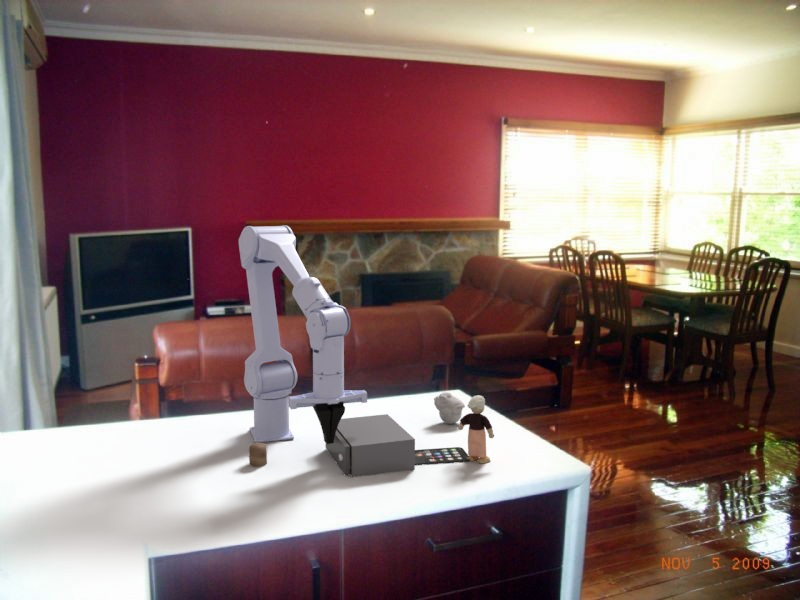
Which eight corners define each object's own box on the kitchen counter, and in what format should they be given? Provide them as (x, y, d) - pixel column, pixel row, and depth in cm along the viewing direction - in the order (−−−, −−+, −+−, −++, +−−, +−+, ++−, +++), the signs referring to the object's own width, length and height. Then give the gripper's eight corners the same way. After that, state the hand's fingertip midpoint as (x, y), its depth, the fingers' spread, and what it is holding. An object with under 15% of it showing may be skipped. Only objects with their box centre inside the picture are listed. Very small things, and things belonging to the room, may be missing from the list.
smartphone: (388, 451, 136) (461, 446, 139) (388, 454, 136) (461, 449, 139) (394, 465, 129) (472, 460, 132) (394, 468, 129) (472, 463, 132)
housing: (330, 447, 139) (330, 419, 138) (387, 441, 143) (387, 414, 142) (352, 477, 124) (352, 446, 123) (414, 469, 128) (414, 439, 127)
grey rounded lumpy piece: (435, 418, 159) (436, 388, 158) (465, 420, 157) (466, 390, 156) (431, 426, 153) (431, 395, 152) (463, 428, 151) (463, 397, 150)
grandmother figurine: (497, 459, 133) (499, 395, 132) (491, 465, 130) (493, 400, 128) (460, 453, 136) (461, 390, 135) (453, 459, 133) (454, 395, 131)
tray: (323, 448, 138) (323, 422, 137) (381, 441, 142) (381, 416, 141) (342, 475, 124) (342, 447, 123) (406, 467, 128) (406, 439, 127)
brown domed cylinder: (248, 461, 131) (248, 443, 131) (265, 459, 132) (265, 442, 132) (250, 467, 128) (250, 449, 128) (268, 465, 129) (267, 447, 129)
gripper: (293, 379, 122) (294, 453, 124) (372, 373, 127) (371, 444, 129) (286, 370, 129) (287, 440, 130) (361, 365, 133) (361, 432, 135)
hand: (328, 441), depth 130 cm, fingers closed
